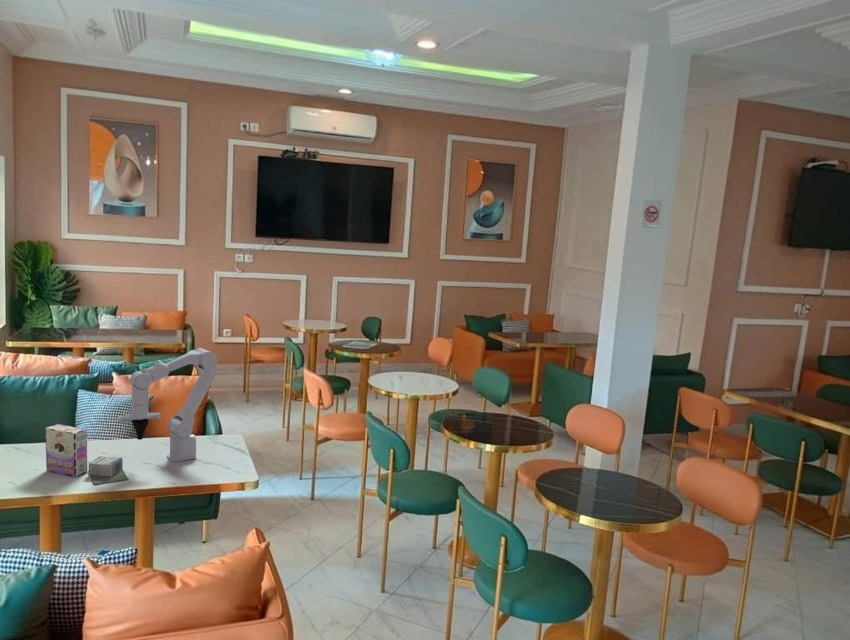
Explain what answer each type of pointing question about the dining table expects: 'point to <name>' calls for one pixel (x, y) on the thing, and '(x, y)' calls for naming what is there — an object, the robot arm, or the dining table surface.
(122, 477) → the mat
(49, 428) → the candy box
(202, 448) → the dining table surface
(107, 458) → the medicine box
